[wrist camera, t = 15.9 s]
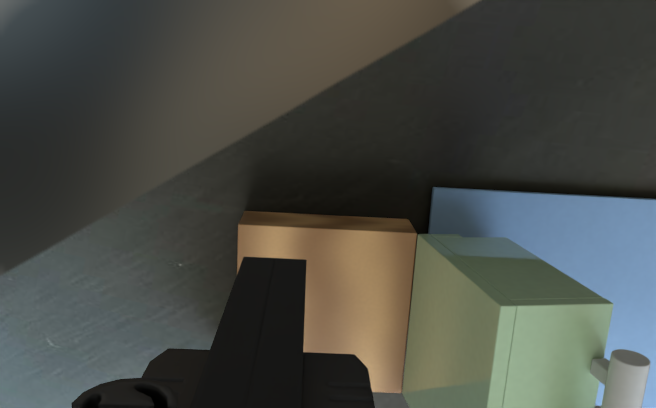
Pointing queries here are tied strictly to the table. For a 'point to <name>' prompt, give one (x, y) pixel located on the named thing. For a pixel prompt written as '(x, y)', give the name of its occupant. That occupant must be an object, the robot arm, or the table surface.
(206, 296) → the table surface
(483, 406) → the green open box
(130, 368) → the table surface
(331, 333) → the tan rectangular panel
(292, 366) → the robot arm
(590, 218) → the mat
